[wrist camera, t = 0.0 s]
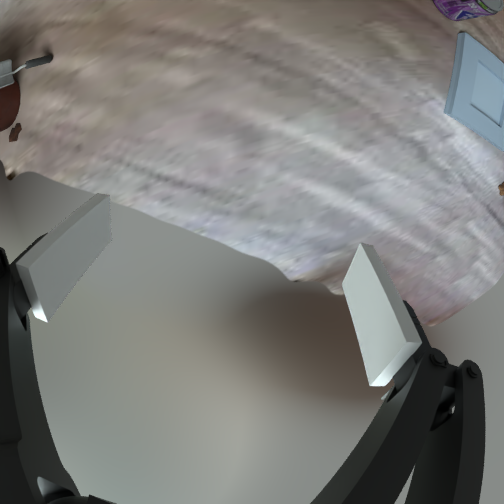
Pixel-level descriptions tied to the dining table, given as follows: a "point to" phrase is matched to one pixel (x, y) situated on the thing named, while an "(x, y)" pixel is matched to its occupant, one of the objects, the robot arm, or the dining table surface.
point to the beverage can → (468, 8)
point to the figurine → (501, 189)
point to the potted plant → (13, 94)
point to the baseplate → (477, 90)
